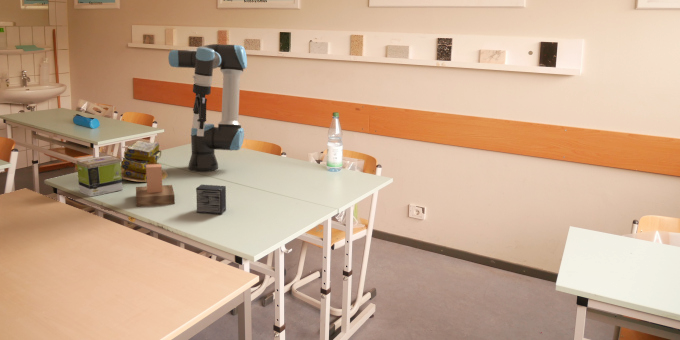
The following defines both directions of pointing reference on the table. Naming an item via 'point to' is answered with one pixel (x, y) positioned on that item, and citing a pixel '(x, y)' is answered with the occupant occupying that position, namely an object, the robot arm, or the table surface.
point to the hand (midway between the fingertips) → (197, 132)
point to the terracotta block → (154, 178)
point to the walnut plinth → (155, 196)
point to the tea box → (99, 175)
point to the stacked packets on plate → (140, 160)
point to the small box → (211, 199)
